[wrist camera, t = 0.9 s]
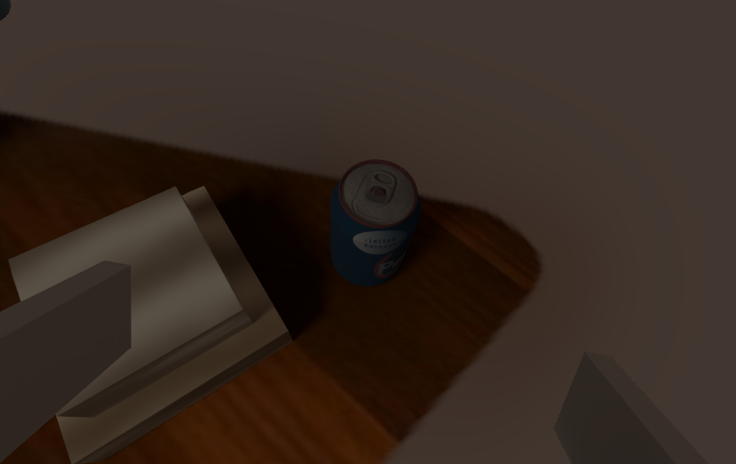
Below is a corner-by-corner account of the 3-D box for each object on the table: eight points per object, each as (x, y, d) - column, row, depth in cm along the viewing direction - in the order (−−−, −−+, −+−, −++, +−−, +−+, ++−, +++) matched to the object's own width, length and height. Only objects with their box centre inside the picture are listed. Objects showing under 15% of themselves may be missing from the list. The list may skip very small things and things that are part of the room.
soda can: (389, 300, 36) (412, 247, 26) (320, 277, 37) (315, 215, 26) (408, 238, 39) (436, 168, 29) (344, 218, 40) (349, 141, 29)
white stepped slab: (44, 288, 34) (-31, 251, 27) (215, 207, 39) (189, 159, 32) (103, 460, 29) (29, 470, 22) (292, 341, 34) (282, 317, 27)
